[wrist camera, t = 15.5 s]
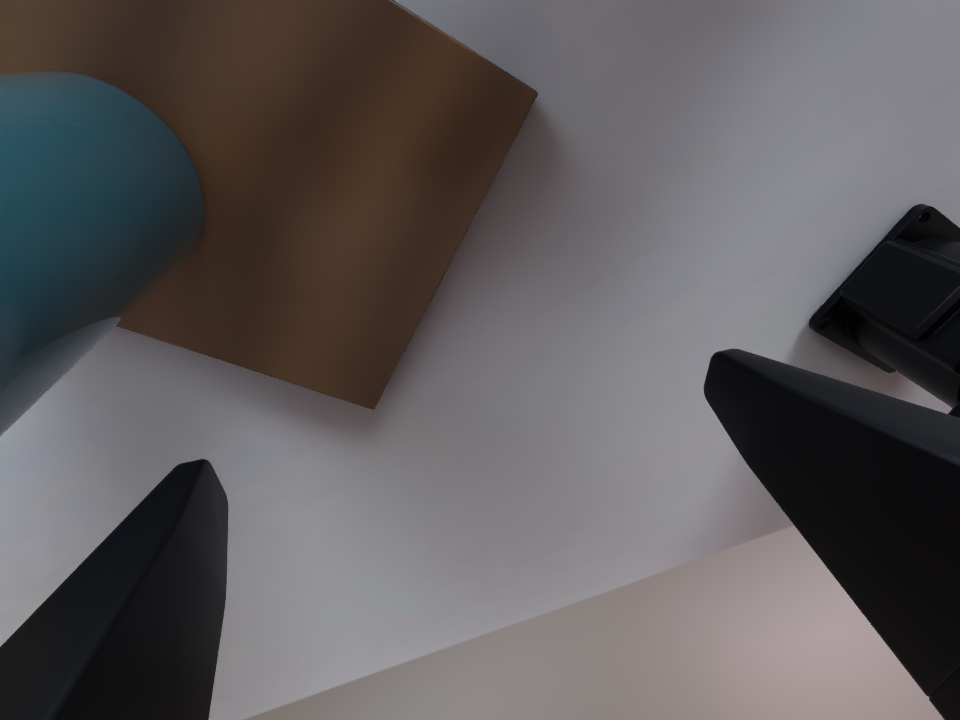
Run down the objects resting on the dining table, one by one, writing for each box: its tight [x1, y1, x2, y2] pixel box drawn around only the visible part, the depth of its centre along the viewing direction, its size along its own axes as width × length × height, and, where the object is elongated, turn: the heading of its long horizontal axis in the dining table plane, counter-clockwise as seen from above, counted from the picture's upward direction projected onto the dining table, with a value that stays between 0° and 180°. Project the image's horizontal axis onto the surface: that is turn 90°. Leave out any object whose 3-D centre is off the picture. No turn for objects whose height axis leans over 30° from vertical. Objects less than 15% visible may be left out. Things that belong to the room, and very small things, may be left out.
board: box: [0, 0, 538, 410], centre depth 16 cm, size 22×14×1 cm, turn 62°
